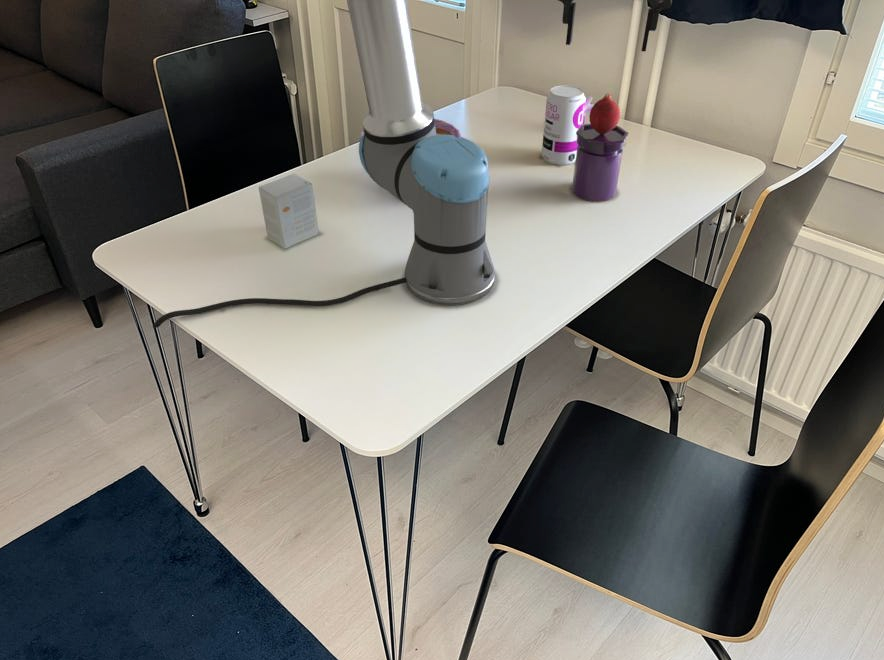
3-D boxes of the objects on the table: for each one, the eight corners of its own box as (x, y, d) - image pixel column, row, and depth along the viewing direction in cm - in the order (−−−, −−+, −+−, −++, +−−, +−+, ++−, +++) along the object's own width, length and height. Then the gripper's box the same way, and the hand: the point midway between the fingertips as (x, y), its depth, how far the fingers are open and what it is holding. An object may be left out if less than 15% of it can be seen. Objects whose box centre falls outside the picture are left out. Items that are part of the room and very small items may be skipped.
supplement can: (583, 156, 162) (592, 89, 153) (568, 169, 157) (576, 100, 147) (551, 148, 166) (558, 81, 156) (535, 160, 160) (540, 93, 151)
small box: (302, 223, 137) (295, 172, 131) (319, 234, 134) (313, 182, 128) (266, 238, 133) (257, 185, 126) (283, 249, 130) (275, 196, 123)
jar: (584, 205, 144) (593, 145, 136) (562, 185, 151) (568, 126, 143) (626, 197, 147) (636, 138, 139) (602, 178, 153) (610, 120, 145)
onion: (616, 141, 138) (623, 100, 133) (586, 139, 139) (591, 97, 134) (617, 130, 143) (623, 89, 138) (587, 127, 144) (593, 87, 139)
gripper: (703, -90, 118) (676, 46, 131) (553, -97, 123) (541, 34, 136) (704, -83, 112) (675, 58, 126) (546, -91, 117) (534, 45, 131)
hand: (605, 46), depth 131 cm, fingers open, 13 cm apart
